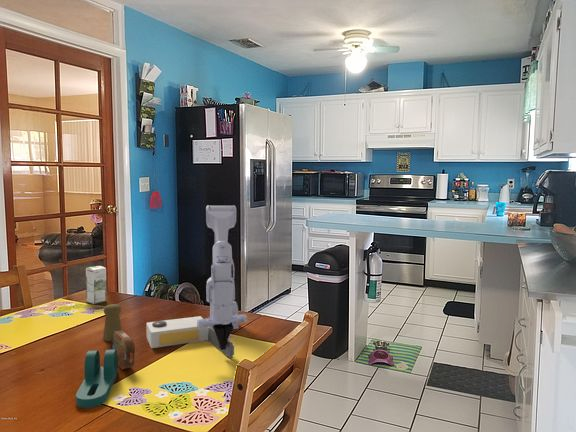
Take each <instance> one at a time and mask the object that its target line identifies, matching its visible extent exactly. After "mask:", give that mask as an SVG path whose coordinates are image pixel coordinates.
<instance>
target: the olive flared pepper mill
mask: <svg viewBox="0 0 576 432" xmlns="http://www.w3.org/2000/svg"><path fill="white" fill-rule="evenodd" d="M121 311H122V307H121V306H120V304H118V303H117V304H116V303H111V304H107V305H105V307H104V309H103V313H104V315H105V320H104V329H103V341H106V342H111V337H112V333H113V332H114V331H123V328H122V323H121V316H120V314H121V313H122V312H121Z"/></svg>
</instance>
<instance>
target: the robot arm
mask: <svg viewBox="0 0 576 432" xmlns="http://www.w3.org/2000/svg"><path fill="white" fill-rule="evenodd" d="M205 223H206V226H207V228H209V229H212V232H214V244H213V246H212V265H211V267H210V269H211V270H210V272H211V275H210V277H209V278H208V279H207V280H206V286H205V288H206V289H205V291H206V292H205V293H206V294H205V295H206V297H205V298H206V299H205V300H206V302H207V303H209V317H206V318H203V319H201V320H197V327H198V328H199V329H200V328H202V327H212V328H213V329H214V331H215V333H216V336H217V339H218V342H219V348H220V349H221V350H224V349H226V345H227V341H228V340H229V338H230V335H231V333H232V332H233V330H238V329H240V327H239V323H248V316H247V314H246V313H245V314H242V313H241V314H239V306H238V302H237V301H235V299H236V287H235V286H236V285H235V263H234V259H233V250H232V248H233V247H232V245H231V244H230V243H229V242H228V240H229V238H228V237H229V230H230V229H232V228H235V226H236V223H237V207H236V205H233V204H232V205H208V204H207V205H206V207H205Z"/></svg>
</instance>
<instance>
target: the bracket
mask: <svg viewBox="0 0 576 432" xmlns="http://www.w3.org/2000/svg"><path fill="white" fill-rule="evenodd" d="M100 355H101V354H100V351H99V350H87V352H86V355H85V357H84V359H85V360H84V379H83V381H82V383H81V385H80V386H79V388H78V390H77V392H76V393H75V405H76V406H77V407H78V408H80V409H81V408H83V409H89V408H91V409H92V408H95V407H98V406H101V405H103V404H105V403H106V402H107V400H108V397H109V395H110V393H111V390H112V388H113V386H114V383H115V381H116V379H117V376H118V374H119V366H118V355H117V350H116V349H113V350H111V349H106V350H105V352H104V357H103V363H102V365H103V366H101V357H100ZM93 393H94V394H93Z"/></svg>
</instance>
